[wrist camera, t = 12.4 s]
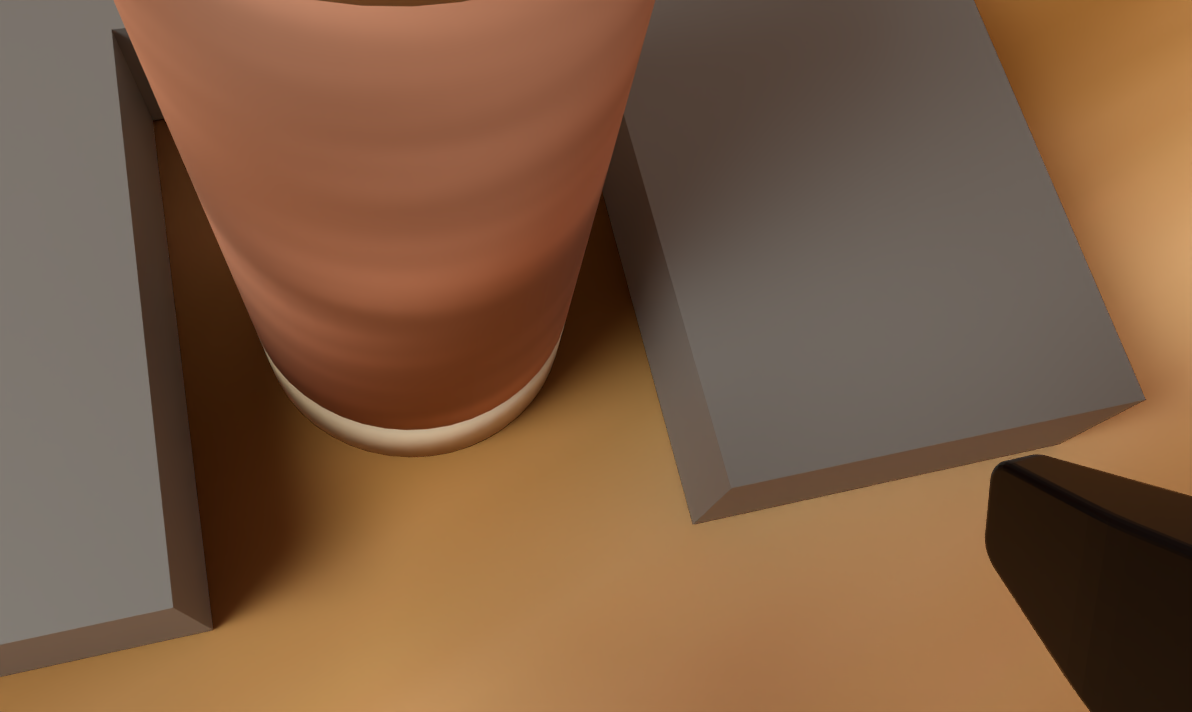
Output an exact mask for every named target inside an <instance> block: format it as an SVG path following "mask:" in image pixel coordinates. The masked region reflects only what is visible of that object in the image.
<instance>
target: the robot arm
mask: <svg viewBox="0 0 1192 712" xmlns="http://www.w3.org/2000/svg"><path fill="white" fill-rule="evenodd" d="M985 544H986V550H987V553H988V556H989V559H990V561H991V563H992V565H993V567H994V568H995V570H996V571H997V573H998V575H999V576H1000V578H1001V579H1002V581H1003V582H1004V584H1005V585H1006V587H1007V588H1008V590H1009V591H1010V593H1011V594H1012V596H1013V597H1014V599H1015V601H1016V602H1017V604H1018V605H1019V607H1020V608H1021V610H1022V611H1023V613H1024V614H1025V616H1026V617H1027V619H1028V620H1029V622H1030V624H1031V625H1032V627H1033V628H1034V630H1035V631H1036V633H1037V634H1038V636H1039V637H1040V639H1041V640H1042V642H1043V643H1044V645H1045V647H1046V648H1047V650H1048V651H1049V653H1050V654H1051V656H1052V657H1053V659H1054V660H1055V662H1056V663H1057V665H1058V666H1059V668H1060V669H1061V671H1062V673H1063V674H1064V676H1065V677H1066V679H1067V680H1068V681H1069V683H1070V684H1071V686H1072V687H1073V689H1074V690H1075V691H1076V693H1077V694H1078V696H1079V697H1080V699H1081V700H1082V701H1083V703H1084V704H1085V705H1086V706H1087V708H1088V709H1089V710H1090V712H1192V496H1189V495H1185V494H1182V493H1178V492H1175V491H1171V490H1168V489H1164V488H1160V487H1157V486H1153V485H1150V484H1146V483H1142V482H1139V481H1135V480H1132V479H1128V478H1124V477H1121V476H1117V475H1114V474H1110V473H1106V472H1103V471H1099V470H1096V469H1092V468H1088V467H1085V466H1081V465H1078V464H1074V463H1070V462H1067V461H1063V460H1060V459H1056V458H1052V457H1049V456H1045V455H1030V456H1025V457H1021V458H1016V459H1012V460H1008V461H1003V462H1001V463H999V464H998V465H997V466H996V467H995V468H994V470H993V472H992V474H991V480H990V489H989V500H988V510H987V520H986V530H985Z"/></svg>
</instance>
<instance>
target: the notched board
mask: <svg viewBox="0 0 1192 712" xmlns="http://www.w3.org/2000/svg"><path fill="white" fill-rule="evenodd" d="M159 119H164V116H163V114H162V112H161V109H160V107H159V105H158V102H157V100H156V98H155V95H154V93H153V91H152V88H151V86H150V84H149V81H148V79H147V77H146V75H145V72H144V70H143V68H142V65H141V63H140V61H139V58H138V56H137V54H136V51H135V49H134V47H133V44H132V42H131V40H130V37H129V35H128V33H127V30H126V28H125V26H124V23H123V21H122V19H121V17H120V14H119V12H118V10H117V7H116V5H115V3H114V0H0V677H2V676H6V675H11V674H15V673H20V672H24V671H29V670H33V669H38V668H42V667H47V666H52V665H56V664H61V663H65V662H70V661H74V660H79V659H83V658H88V657H93V656H97V655H102V654H106V653H111V652H115V651H120V650H124V649H129V648H133V647H138V646H143V645H147V644H152V643H156V642H161V641H165V640H170V639H174V638H179V637H184V636H188V635H193V634H197V633H202V632H206V631H211V630H213V625H212V616H211V608H210V599H209V591H208V582H207V574H206V565H205V557H204V548H203V540H202V531H201V523H200V514H199V506H198V498H197V489H196V481H195V472H194V464H193V455H192V447H191V438H190V430H189V421H188V413H187V404H186V396H185V387H184V379H183V370H182V362H181V354H180V345H179V337H178V328H177V320H176V311H175V303H174V294H173V286H172V277H171V269H170V260H169V252H168V243H167V235H166V226H165V218H164V210H163V201H162V193H161V184H160V176H159V167H158V159H157V150H156V142H155V133H154V125H153V120H159ZM602 192H603V196H604V200H605V203H606V207H607V211H608V214H609V218H610V222H611V225H612V229H613V233H614V236H615V240H616V244H617V247H618V251H619V255H620V259H621V262H622V266H623V270H624V273H625V277H626V281H627V284H628V288H629V292H630V295H631V299H632V303H633V306H634V310H635V314H636V317H637V321H638V325H639V328H640V332H641V336H642V339H643V343H644V347H645V350H646V354H647V358H648V361H649V365H650V369H651V372H652V376H653V380H654V383H655V387H656V391H657V394H658V398H659V402H660V406H661V409H662V413H663V417H664V420H665V424H666V428H667V431H668V435H669V439H670V442H671V446H672V450H673V453H674V457H675V461H676V464H677V468H678V472H679V475H680V479H681V483H682V486H683V490H684V494H685V497H686V501H687V505H688V508H689V512H690V516H691V519H692V523H693V524H698V523H702V522H707V521H711V520H716V519H720V518H725V517H730V516H734V515H739V514H743V513H748V512H752V511H757V510H761V509H766V508H770V507H775V506H780V505H784V504H789V503H793V502H798V501H802V500H807V499H811V498H816V497H821V496H825V495H830V494H834V493H839V492H843V491H848V490H852V489H857V488H861V487H866V486H871V485H875V484H880V483H884V482H889V481H893V480H898V479H902V478H907V477H912V476H916V475H921V474H925V473H930V472H934V471H939V470H943V469H948V468H952V467H957V466H962V465H966V464H971V463H975V462H980V461H984V460H989V459H993V458H998V457H1003V456H1007V455H1012V454H1016V453H1021V452H1025V451H1030V450H1034V449H1039V448H1043V447H1048V446H1053V445H1057V444H1060V443H1062V442H1064V441H1066V440H1068V439H1070V438H1072V437H1074V436H1076V435H1078V434H1080V433H1082V432H1084V431H1085V430H1087V429H1089V428H1091V427H1093V426H1095V425H1097V424H1099V423H1101V422H1103V421H1105V420H1107V419H1109V418H1111V417H1113V416H1115V415H1117V414H1119V413H1121V412H1123V411H1125V410H1126V409H1128V408H1130V407H1132V406H1134V405H1136V404H1138V403H1140V402H1142V401H1144V400H1146V399H1145V397H1144V395H1143V392H1142V390H1141V388H1140V385H1139V383H1138V381H1137V378H1136V376H1135V374H1134V371H1133V369H1132V367H1131V364H1130V362H1129V360H1128V357H1127V355H1126V353H1125V350H1124V348H1123V346H1122V343H1121V341H1120V339H1119V336H1118V334H1117V332H1116V329H1115V327H1114V325H1113V323H1112V320H1111V318H1110V316H1109V313H1108V311H1107V309H1106V306H1105V304H1104V302H1103V299H1102V297H1101V295H1100V292H1099V290H1098V288H1097V285H1096V283H1095V281H1094V278H1093V276H1092V274H1091V271H1090V269H1089V267H1088V264H1087V262H1086V260H1085V257H1084V255H1083V253H1082V251H1081V248H1080V246H1079V244H1078V241H1077V239H1076V237H1075V234H1074V232H1073V230H1072V227H1071V225H1070V223H1069V220H1068V218H1067V216H1066V213H1065V211H1064V209H1063V206H1062V204H1061V202H1060V199H1059V197H1058V195H1057V192H1056V190H1055V188H1054V186H1053V183H1052V181H1051V179H1050V176H1049V174H1048V172H1047V169H1046V167H1045V165H1044V162H1043V160H1042V158H1041V155H1040V153H1039V151H1038V148H1037V146H1036V144H1035V141H1034V139H1033V137H1032V134H1031V132H1030V130H1029V127H1028V125H1027V123H1026V120H1025V118H1024V116H1023V114H1022V111H1021V109H1020V107H1019V104H1018V102H1017V100H1016V97H1015V95H1014V93H1013V90H1012V88H1011V86H1010V83H1009V81H1008V79H1007V76H1006V74H1005V72H1004V69H1003V67H1002V65H1001V62H1000V60H999V58H998V55H997V53H996V51H995V48H994V46H993V44H992V42H991V39H990V37H989V35H988V32H987V30H986V28H985V25H984V23H983V21H982V18H981V16H980V14H979V11H978V9H977V7H976V4H975V2H974V0H655V3H654V7H653V10H652V14H651V18H650V21H649V25H648V28H647V32H646V35H645V39H644V43H643V46H642V50H641V53H640V57H639V61H638V64H637V68H636V71H635V75H634V78H633V82H632V86H631V89H630V93H629V96H628V100H627V103H626V107H625V111H624V114H623V118H622V121H621V125H620V128H619V132H618V136H617V139H616V143H615V146H614V150H613V153H612V157H611V161H610V164H609V168H608V171H607V175H606V178H605V182H604V186H603V189H602Z"/></svg>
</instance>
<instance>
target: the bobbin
mask: <svg viewBox="0 0 1192 712" xmlns="http://www.w3.org/2000/svg"><path fill="white" fill-rule="evenodd" d="M114 3H115V5H116V7H117V10H118V12H119V14H120V17H121V19H122V21H123V23H124V26H125V28H126V30H127V33H128V35H129V37H130V40H131V42H132V44H133V47H134V49H135V51H136V54H137V56H138V58H139V61H140V63H141V65H142V68H143V70H144V72H145V75H146V77H147V79H148V81H149V84H150V86H151V88H152V91H153V93H154V95H155V98H156V100H157V102H158V105H159V107H160V109H161V112H162V114H163V116H164V119H165V121H166V123H167V126H168V128H169V130H170V133H171V135H172V137H173V139H174V142H175V144H176V146H177V149H178V151H179V153H180V156H181V158H182V160H183V163H184V165H185V167H186V170H187V172H188V174H189V177H190V179H191V181H192V184H193V186H194V188H195V191H196V193H197V195H198V197H199V200H200V202H201V204H202V207H203V209H204V211H205V214H206V216H207V218H208V221H209V223H210V225H211V228H212V230H213V232H214V235H215V237H216V239H217V242H218V244H219V246H220V249H221V251H222V253H223V255H224V258H225V260H226V262H227V265H228V267H229V269H230V272H231V274H232V276H233V279H234V281H235V283H236V286H237V288H238V290H239V293H240V295H241V297H242V300H243V302H244V304H245V307H246V309H247V311H248V313H249V316H250V318H251V320H252V323H253V325H254V327H255V330H256V332H257V334H258V337H259V339H260V341H261V344H262V346H263V348H264V351H265V353H266V355H267V358H268V360H269V362H270V365H271V367H272V369H273V371H274V373H275V376H276V378H277V380H278V382H279V384H280V385H281V387H282V389H283V390H284V392H285V393H286V395H287V396H288V398H289V399H290V400H291V401H292V403H293V404H294V405H295V406H296V407H297V408H298V410H299V411H300V412H301V413H302V414H303V415H304V416H306V417H307V418H308V419H309V420H310V421H311V422H312V423H313V424H315V425H316V426H317V427H319V428H320V429H322V430H323V431H325V432H326V433H328V434H329V435H331V436H332V437H334V438H336V439H338V440H340V441H342V442H345V443H347V444H349V445H351V446H354V447H357V448H360V449H363V450H366V451H369V452H373V453H378V454H383V455H388V456H400V457H424V456H434V455H439V454H445V453H450V452H454V451H457V450H460V449H463V448H466V447H469V446H472V445H474V444H476V443H478V442H480V441H483V440H485V439H487V438H489V437H490V436H492V435H493V434H495V433H497V432H498V431H500V430H502V429H503V428H504V427H506V426H507V425H508V424H509V423H511V422H512V421H513V420H514V419H515V418H517V417H518V416H519V415H520V414H521V413H522V412H523V411H524V410H525V409H526V407H527V406H528V405H529V404H530V403H531V402H532V401H533V399H534V398H535V396H536V395H537V394H538V392H539V391H540V389H541V388H542V386H543V384H544V382H545V381H546V379H547V377H548V375H549V373H550V371H551V368H552V365H553V362H554V359H555V357H556V354H557V350H558V346H559V343H560V339H561V336H562V332H563V328H564V325H565V321H566V318H567V314H568V311H569V307H570V303H571V300H572V296H573V293H574V289H575V286H576V282H577V278H578V275H579V271H580V268H581V264H582V261H583V257H584V253H585V250H586V246H587V243H588V239H589V236H590V232H591V228H592V225H593V221H594V218H595V214H596V211H597V207H598V203H599V200H600V196H601V193H602V189H603V186H604V182H605V178H606V175H607V171H608V168H609V164H610V161H611V157H612V153H613V150H614V146H615V143H616V139H617V136H618V132H619V128H620V125H621V121H622V118H623V114H624V111H625V107H626V103H627V100H628V96H629V93H630V89H631V86H632V82H633V78H634V75H635V71H636V68H637V64H638V61H639V57H640V53H641V50H642V46H643V43H644V39H645V35H646V32H647V28H648V25H649V21H650V18H651V14H652V10H653V7H654V3H655V0H114Z"/></svg>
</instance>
